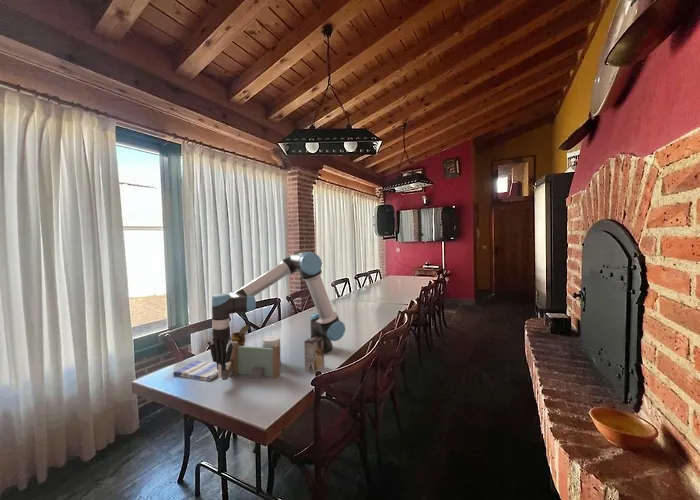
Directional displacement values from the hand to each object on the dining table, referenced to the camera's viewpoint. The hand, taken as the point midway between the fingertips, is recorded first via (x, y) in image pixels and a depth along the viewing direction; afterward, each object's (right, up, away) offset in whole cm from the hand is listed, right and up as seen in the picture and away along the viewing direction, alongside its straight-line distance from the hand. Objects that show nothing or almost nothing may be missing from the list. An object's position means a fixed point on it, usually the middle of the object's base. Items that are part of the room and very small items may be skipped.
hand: (221, 376), depth 143 cm
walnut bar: (+1, 0, +4) cm, 4 cm away
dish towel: (-17, -5, +17) cm, 24 cm away
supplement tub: (+17, -4, +24) cm, 30 cm away
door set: (+12, -4, +10) cm, 16 cm away
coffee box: (+42, -4, +18) cm, 46 cm away
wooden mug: (-6, -3, +42) cm, 43 cm away
